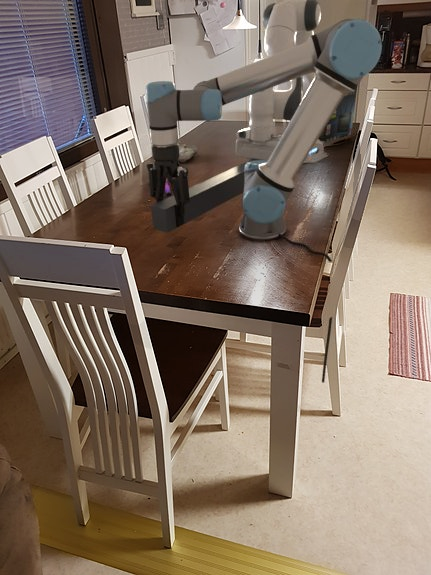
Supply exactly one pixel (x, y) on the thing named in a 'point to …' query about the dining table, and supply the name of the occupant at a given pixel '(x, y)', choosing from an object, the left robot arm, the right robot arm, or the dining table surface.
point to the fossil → (186, 152)
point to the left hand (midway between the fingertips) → (172, 222)
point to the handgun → (167, 189)
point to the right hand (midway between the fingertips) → (260, 171)
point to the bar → (200, 198)
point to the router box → (340, 120)
